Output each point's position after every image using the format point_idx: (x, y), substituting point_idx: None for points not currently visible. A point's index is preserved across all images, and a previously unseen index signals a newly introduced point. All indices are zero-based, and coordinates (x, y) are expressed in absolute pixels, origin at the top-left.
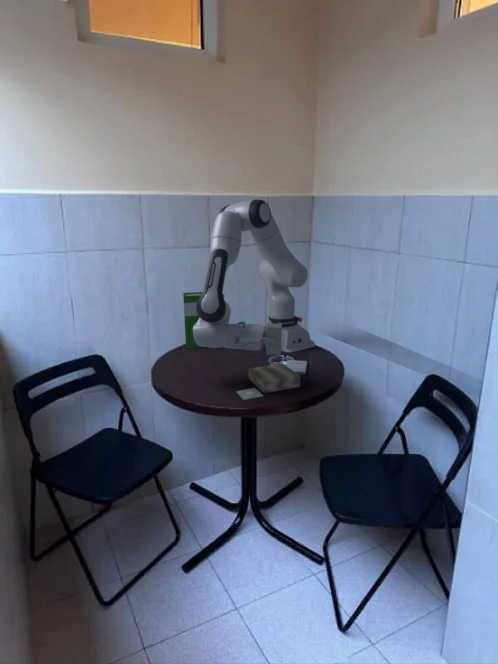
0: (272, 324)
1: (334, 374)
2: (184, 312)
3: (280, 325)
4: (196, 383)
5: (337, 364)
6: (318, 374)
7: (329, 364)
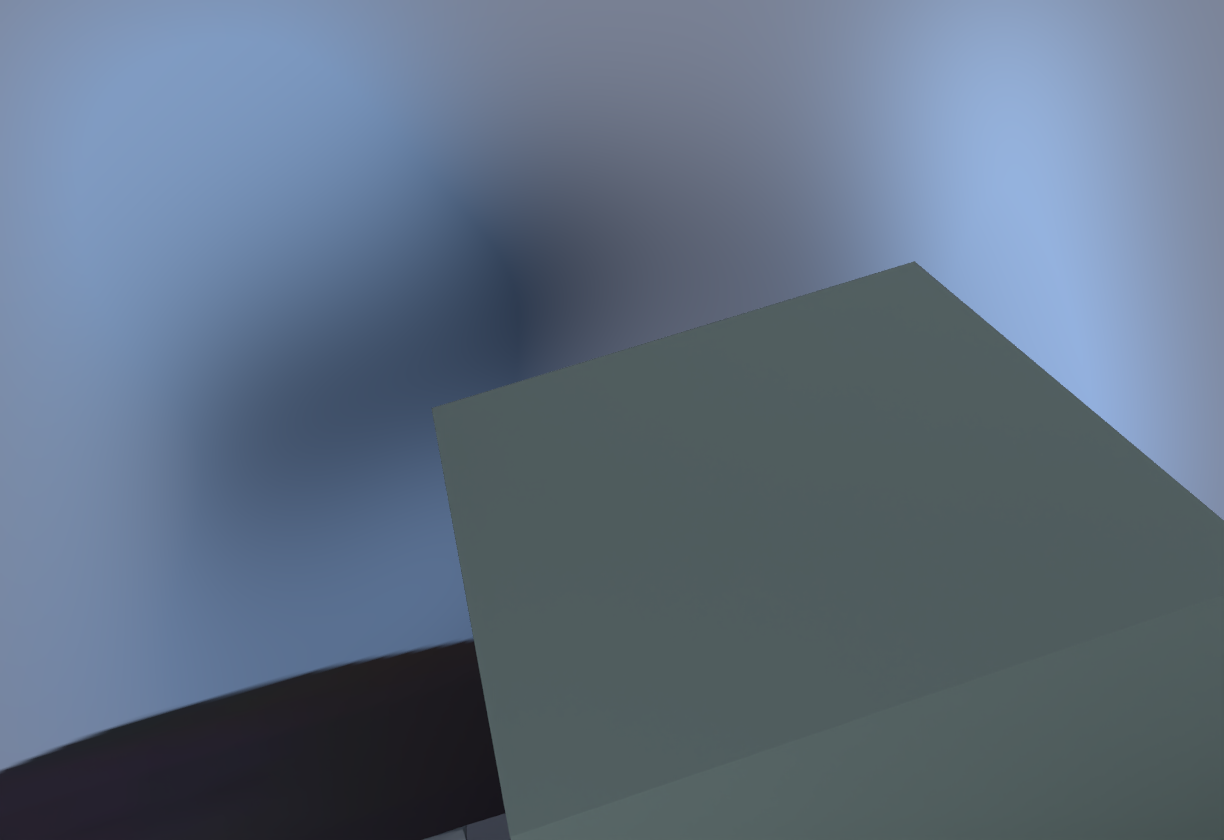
0: (658, 570)
1: (333, 697)
2: None
3: (666, 356)
4: None
5: (31, 758)
6: (358, 832)
7: (22, 829)
